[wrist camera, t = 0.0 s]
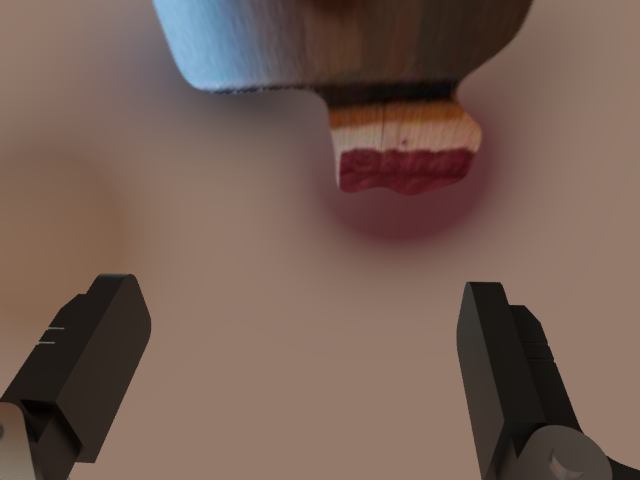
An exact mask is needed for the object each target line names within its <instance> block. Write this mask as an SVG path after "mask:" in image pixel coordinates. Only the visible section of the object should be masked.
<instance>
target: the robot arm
mask: <svg viewBox="0 0 640 480" xmlns="http://www.w3.org/2000/svg"><path fill="white" fill-rule="evenodd" d="M150 333H151V318H150V315H149V312H148V309H147V306H146V304H145V301H144V298H143V295H142V293H141V290H140V287H139V284H138V281H137V279H136V277H135V276H134V275H132V274H100V275H98V276H97V278H96V279H95V280H94V282H93V284H92V285H91V287H90V288H89V290H88V291H87V293H86V294H78V295H77V296H76V297H74V298H73V299H72V300H71V301H70V302H68V303H67V304H66V305H65V306H64V307H62V308H61V309H60V310H59V312H58V313H57V315H56V316H55V318H54V319H53V321H52V322H51V324H50V325H49V329H48V330H46V331H45V333H44V334H43V336H42V337H41V339H40V340H39V345H36V346H35V348H34V349H33V351H32V352H31V354H30V355H29V357H28V358H27V360H26V361H25V363H24V364H23V366H22V367H21V369H20V370H19V372H18V373H17V375H16V376H15V378H14V379H13V381H12V382H11V384H10V385H9V387H8V388H7V390H6V391H5V393H4V394H3V396H2V397H1V398H0V480H70V478H69V474H70V472H71V470H72V468H73V465H74V463H75V462H83V463H95V461H96V458H97V456H98V454H99V452H100V449H101V447H102V445H103V443H104V440H105V438H106V436H107V433H108V431H109V429H110V427H111V424H112V422H113V420H114V418H115V415H116V413H117V411H118V409H119V406H120V404H121V402H122V400H123V397H124V395H125V393H126V391H127V388H128V386H129V384H130V382H131V379H132V377H133V375H134V373H135V370H136V368H137V366H138V364H139V361H140V359H141V357H142V355H143V352H144V350H145V348H146V345H147V343H148V341H149V337H150ZM547 344H548V342H547V339H546V337H545V334H544V331H543V328H542V326H541V323H540V322H539V321H538V320H537V319H536V317H535V316H534V315H533V314H532V313H531V312H530V311H529V310H528V309H527V308H526V307H525V306H524V305H509V304H508V301H507V298H506V295H505V292H504V288H503V286H502V284H501V283H500V282H467V283H466V285H465V289H464V294H463V299H462V304H461V309H460V314H459V319H458V324H457V351H458V357H459V362H460V367H461V373H462V378H463V383H464V388H465V394H466V399H467V404H468V410H469V415H470V420H471V425H472V431H473V436H474V441H475V446H476V452H477V457H478V462H479V468H480V473H481V479H482V480H640V471H639V470H637V469H634V468H631V467H628V466H625V465H623V464H620V463H618V462H616V461H614V460H612V459H611V458H609V457H608V456H606V455H605V454H604V452H603V451H602V450H601V448H600V447H599V446H598V445H597V444H596V443H595V442H594V441H593V440H591V439H590V438H589V437H587V436H586V435H584V433H583V432H582V430H581V428H580V426H579V424H578V421H577V419H576V416H575V413H574V411H573V408H572V405H571V403H570V400H569V397H568V395H567V392H566V389H565V387H564V384H563V381H562V379H561V376H560V374H559V371H558V368H557V366H556V363H554V358H553V355H552V353H551V350H550V347H549V346H548V345H547Z"/></svg>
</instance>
